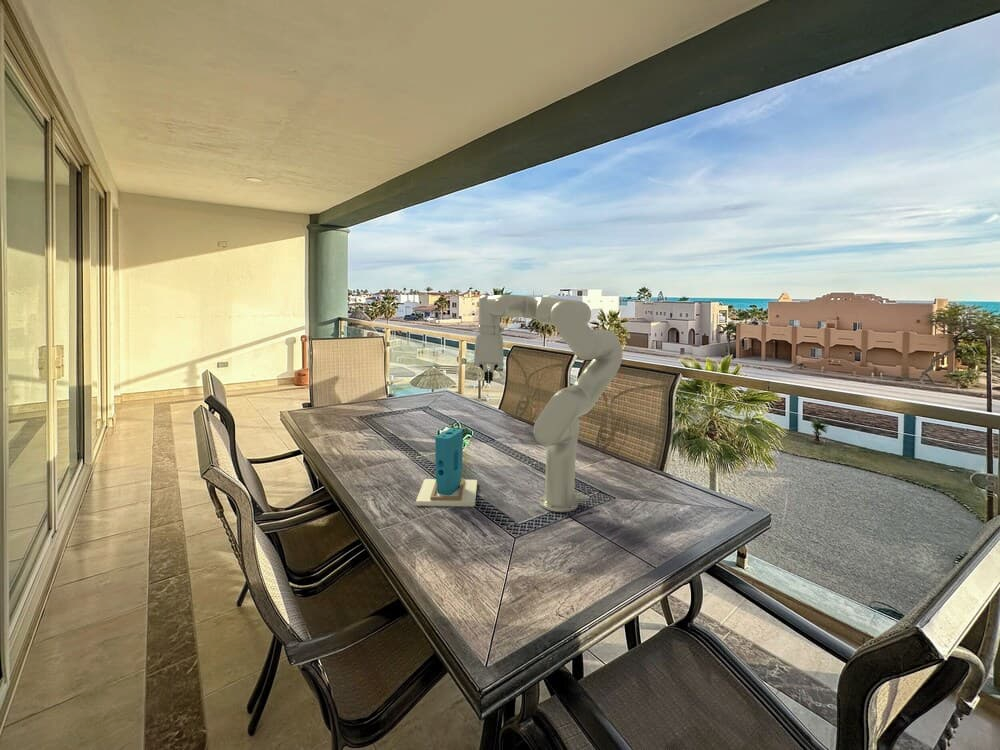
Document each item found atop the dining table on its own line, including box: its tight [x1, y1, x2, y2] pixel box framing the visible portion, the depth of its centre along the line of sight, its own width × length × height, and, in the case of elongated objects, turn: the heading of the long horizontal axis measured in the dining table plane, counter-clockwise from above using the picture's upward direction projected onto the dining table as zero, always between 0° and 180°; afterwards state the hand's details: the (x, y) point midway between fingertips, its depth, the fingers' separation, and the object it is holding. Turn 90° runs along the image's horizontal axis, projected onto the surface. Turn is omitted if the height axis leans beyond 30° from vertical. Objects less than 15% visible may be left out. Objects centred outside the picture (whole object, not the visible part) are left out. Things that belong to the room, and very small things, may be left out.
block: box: [434, 428, 464, 495], centre depth 156 cm, size 12×5×20 cm, turn 160°
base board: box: [415, 477, 478, 507], centre depth 157 cm, size 19×19×2 cm
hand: (488, 382), depth 163 cm, fingers closed
